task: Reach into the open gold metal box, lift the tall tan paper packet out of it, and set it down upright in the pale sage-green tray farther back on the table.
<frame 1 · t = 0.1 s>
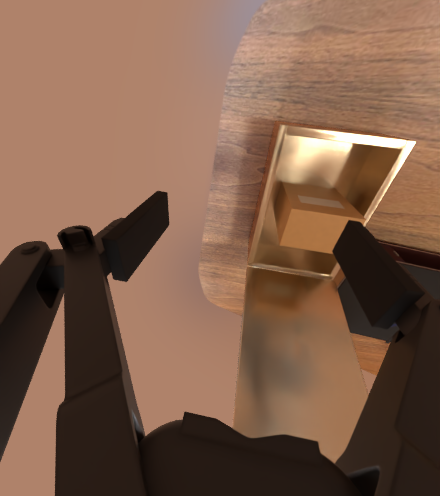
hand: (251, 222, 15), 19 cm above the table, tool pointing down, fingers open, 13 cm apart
book: (386, 282, 39), on the table
gold metal box: (302, 198, 32), on the table
lid: (290, 348, 26), point 17 cm above the table, hinge at 100.0°
packet: (303, 201, 31), point 1 cm above the table, touching gold metal box
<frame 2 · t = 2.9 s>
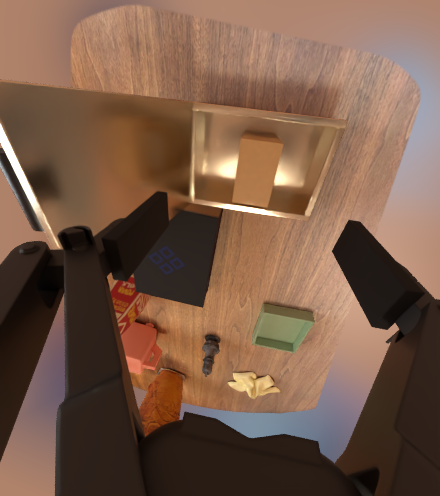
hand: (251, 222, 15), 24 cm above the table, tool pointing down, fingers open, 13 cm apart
book: (180, 244, 48), on the table
gold metal box: (255, 158, 34), on the table
lid: (123, 173, 21), point 17 cm above the table, hinge at 100.0°
packet: (255, 159, 33), point 1 cm above the table, touching gold metal box
vase: (172, 373, 91), on the table
dark chess piece: (213, 338, 69), on the table
tray: (279, 324, 59), on the table
milk carton: (135, 285, 59), on the table
cloth: (255, 382, 83), on the table
teapot: (139, 327, 72), on the table
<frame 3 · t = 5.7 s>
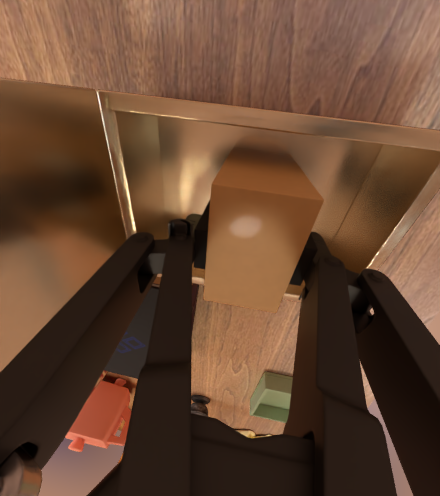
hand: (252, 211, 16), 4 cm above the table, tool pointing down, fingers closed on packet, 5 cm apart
book: (145, 302, 33), on the table
gold metal box: (252, 193, 20), on the table
packet: (252, 196, 19), point 1 cm above the table, touching gripper, gold metal box
dark chess piece: (200, 398, 55), on the table
tray: (285, 393, 45), on the table
cloth: (254, 437, 69), on the table
teapot: (109, 381, 58), on the table
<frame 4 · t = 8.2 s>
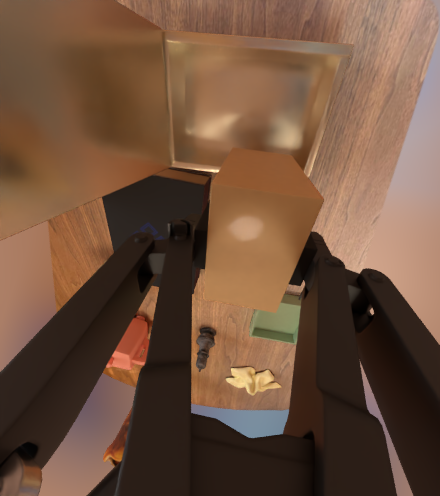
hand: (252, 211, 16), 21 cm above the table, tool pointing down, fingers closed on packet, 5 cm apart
book: (166, 224, 43), on the table
gold metal box: (245, 115, 30), on the table
lid: (72, 104, 17), point 17 cm above the table, hinge at 100.0°
packet: (252, 196, 19), point 17 cm above the table, touching gripper
vase: (167, 370, 86), on the table
dark chess piece: (207, 331, 65), on the table
tray: (278, 313, 54), on the table
cloth: (254, 377, 78), on the table
teapot: (129, 320, 68), on the table
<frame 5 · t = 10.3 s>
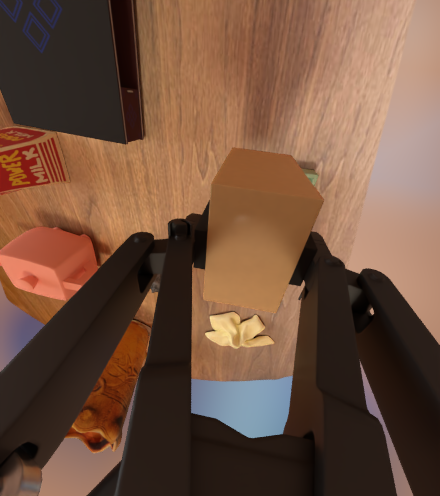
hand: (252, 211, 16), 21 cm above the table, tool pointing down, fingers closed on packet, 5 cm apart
book: (79, 25, 27), on the table
packet: (252, 196, 19), point 18 cm above the table, touching gripper
vase: (135, 326, 70), on the table
dark chess piece: (173, 255, 49), on the table
milk carton: (43, 155, 39), on the table
cloth: (240, 330, 62), on the table
teapot: (74, 245, 52), on the table
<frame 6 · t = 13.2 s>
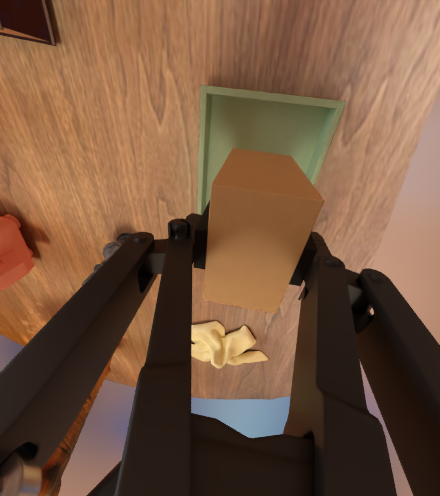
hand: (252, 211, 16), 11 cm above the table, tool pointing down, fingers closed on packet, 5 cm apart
packet: (252, 196, 19), point 8 cm above the table, touching gripper
vase: (98, 334, 57), on the table
dark chess piece: (131, 245, 35), on the table
tray: (254, 174, 25), on the table
cloth: (225, 343, 49), on the table
teapot: (0, 230, 38), on the table
when the fingers open (4 cm above the table, at t = 15.2 s): packet stays where it is, resting on tray.
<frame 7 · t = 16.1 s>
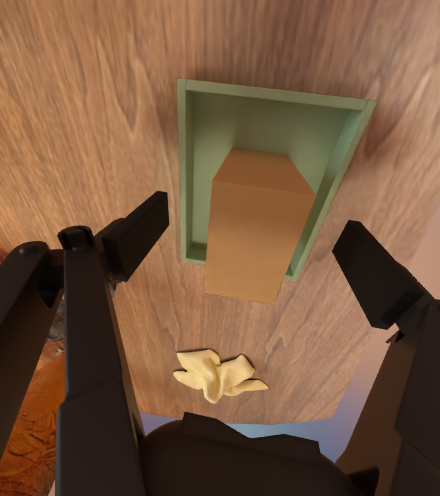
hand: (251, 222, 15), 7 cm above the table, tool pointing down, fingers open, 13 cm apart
packet: (251, 194, 20), point 1 cm above the table, touching tray
vase: (81, 358, 52), on the table
dark chess piece: (109, 269, 30), on the table
tray: (251, 192, 20), on the table
cloth: (221, 371, 44), on the table
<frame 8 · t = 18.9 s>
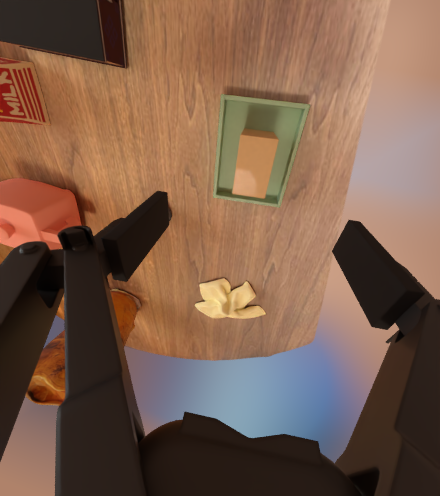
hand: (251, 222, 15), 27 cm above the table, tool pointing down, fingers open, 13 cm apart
packet: (254, 155, 36), point 1 cm above the table, touching tray
vase: (124, 298, 68), on the table
tray: (254, 154, 36), on the table
milk carton: (21, 92, 36), on the table
cloth: (231, 300, 61), on the table
teapot: (57, 203, 49), on the table
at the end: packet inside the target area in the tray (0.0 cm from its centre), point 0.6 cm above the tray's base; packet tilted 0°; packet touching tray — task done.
